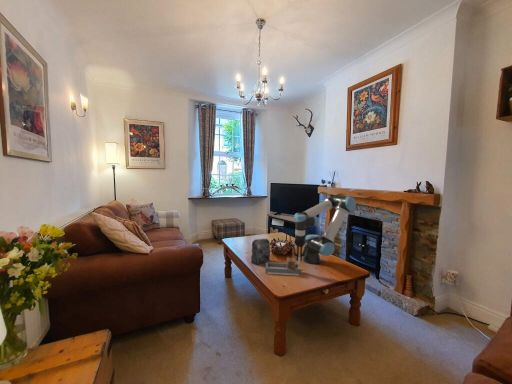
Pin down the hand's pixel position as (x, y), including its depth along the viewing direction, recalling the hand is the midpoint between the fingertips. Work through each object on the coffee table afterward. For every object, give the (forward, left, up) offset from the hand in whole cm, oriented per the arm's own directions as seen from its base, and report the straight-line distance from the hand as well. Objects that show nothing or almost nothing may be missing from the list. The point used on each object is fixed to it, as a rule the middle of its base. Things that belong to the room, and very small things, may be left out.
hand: (298, 264), depth 175 cm
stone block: (+30, -16, -6) cm, 35 cm away
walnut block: (+6, 0, -5) cm, 8 cm away
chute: (+12, 0, -6) cm, 14 cm away
